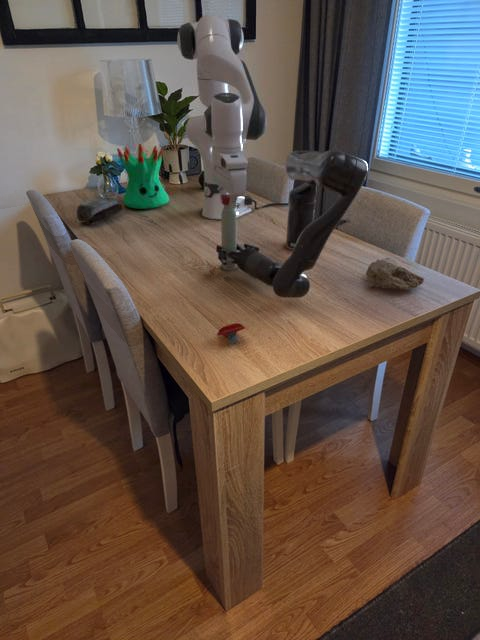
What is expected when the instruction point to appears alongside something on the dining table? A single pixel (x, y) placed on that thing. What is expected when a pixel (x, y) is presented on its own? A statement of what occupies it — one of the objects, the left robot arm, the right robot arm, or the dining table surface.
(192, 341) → the dining table surface
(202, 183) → the toy
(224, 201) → the cap
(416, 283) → the artifact
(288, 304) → the dining table surface
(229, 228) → the bottle
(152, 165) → the toy
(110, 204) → the rock
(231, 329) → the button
